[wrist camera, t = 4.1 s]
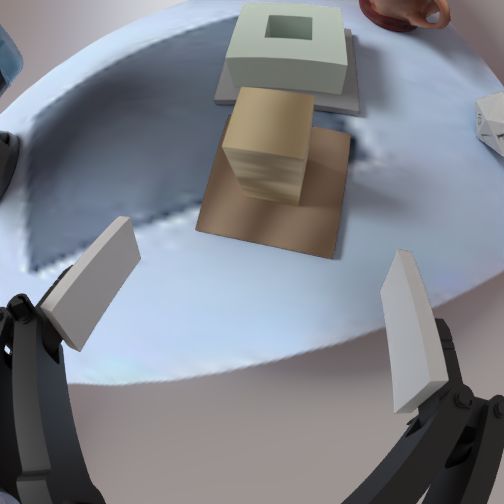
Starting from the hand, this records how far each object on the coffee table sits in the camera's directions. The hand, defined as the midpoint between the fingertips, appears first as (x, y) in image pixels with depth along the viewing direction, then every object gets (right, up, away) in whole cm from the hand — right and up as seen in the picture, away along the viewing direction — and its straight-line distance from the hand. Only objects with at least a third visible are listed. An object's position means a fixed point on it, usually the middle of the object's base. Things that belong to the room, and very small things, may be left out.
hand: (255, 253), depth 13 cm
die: (+31, +15, +11) cm, 37 cm away
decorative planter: (+22, +37, +15) cm, 45 cm away
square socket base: (+5, +24, +15) cm, 29 cm away
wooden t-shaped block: (+2, +7, +14) cm, 16 cm away
